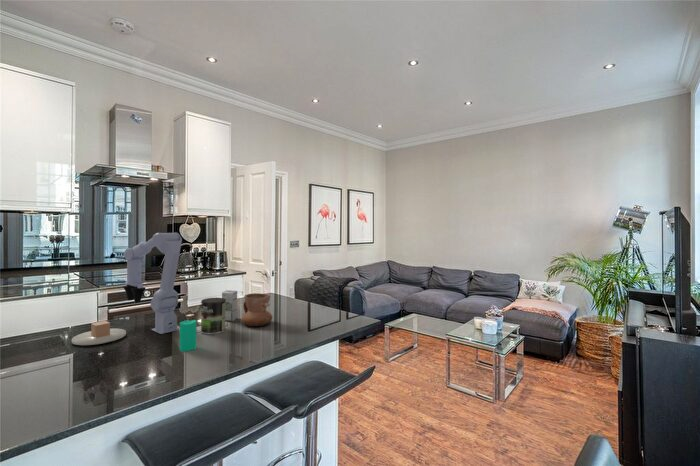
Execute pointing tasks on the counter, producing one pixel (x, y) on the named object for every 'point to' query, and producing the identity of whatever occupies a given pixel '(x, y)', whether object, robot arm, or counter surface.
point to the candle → (187, 335)
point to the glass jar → (213, 315)
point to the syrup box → (230, 305)
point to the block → (100, 329)
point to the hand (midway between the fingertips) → (134, 301)
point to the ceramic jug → (256, 309)
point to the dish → (90, 340)
